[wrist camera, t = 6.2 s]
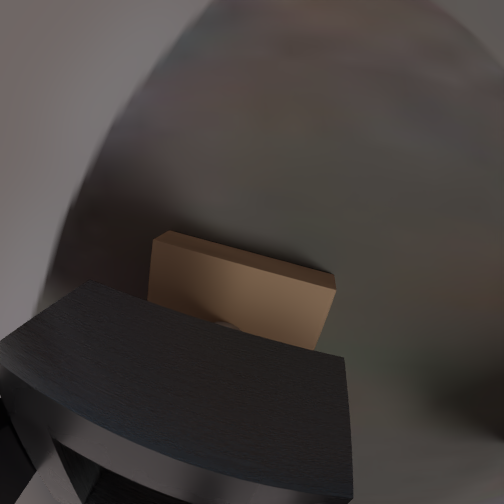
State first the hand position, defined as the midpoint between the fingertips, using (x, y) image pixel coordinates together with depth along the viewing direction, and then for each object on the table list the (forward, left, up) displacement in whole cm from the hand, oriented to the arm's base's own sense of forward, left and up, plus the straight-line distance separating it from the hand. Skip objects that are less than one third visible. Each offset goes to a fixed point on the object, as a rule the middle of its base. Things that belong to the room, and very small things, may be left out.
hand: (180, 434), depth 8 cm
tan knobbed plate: (0, 0, -6) cm, 7 cm away
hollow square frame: (0, 0, -1) cm, 1 cm away
